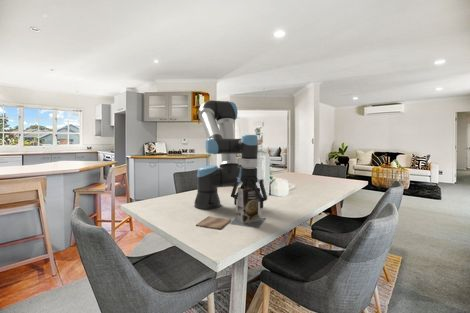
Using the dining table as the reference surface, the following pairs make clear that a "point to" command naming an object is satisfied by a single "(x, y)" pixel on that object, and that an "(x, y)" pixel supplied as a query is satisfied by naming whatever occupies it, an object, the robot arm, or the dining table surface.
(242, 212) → the coffee box
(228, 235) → the dining table surface
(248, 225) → the mat
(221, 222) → the walnut board
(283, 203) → the dining table surface
